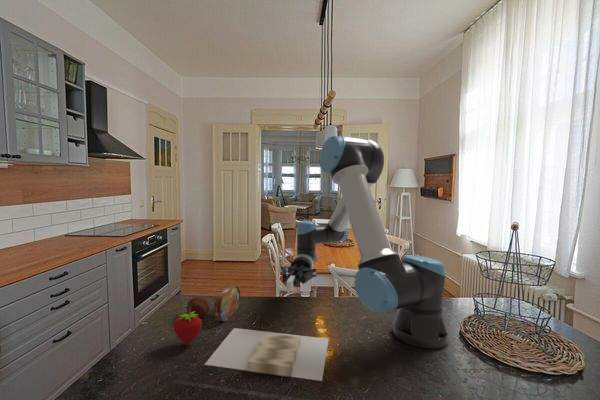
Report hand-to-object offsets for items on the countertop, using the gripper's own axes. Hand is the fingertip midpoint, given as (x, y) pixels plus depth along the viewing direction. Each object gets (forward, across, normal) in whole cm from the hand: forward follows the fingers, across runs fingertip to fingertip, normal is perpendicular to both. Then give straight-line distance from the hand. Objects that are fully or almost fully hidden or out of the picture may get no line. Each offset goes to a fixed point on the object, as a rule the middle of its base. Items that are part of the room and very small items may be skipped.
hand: (288, 286), depth 89 cm
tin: (-6, +22, -13) cm, 26 cm away
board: (+9, 0, -12) cm, 14 cm away
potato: (-3, +31, -13) cm, 33 cm away
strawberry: (+13, +25, -13) cm, 31 cm away
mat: (+12, +2, -14) cm, 18 cm away
